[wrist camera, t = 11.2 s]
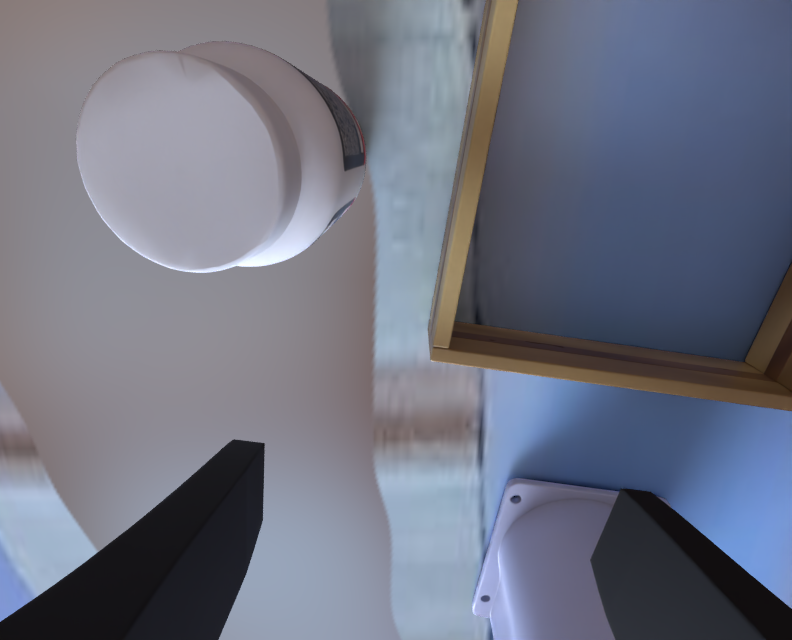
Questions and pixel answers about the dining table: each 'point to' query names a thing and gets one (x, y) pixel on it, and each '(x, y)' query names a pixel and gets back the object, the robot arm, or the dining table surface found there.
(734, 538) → the dining table surface
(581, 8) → the dining table surface
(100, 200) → the pill bottle
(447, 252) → the picture frame
